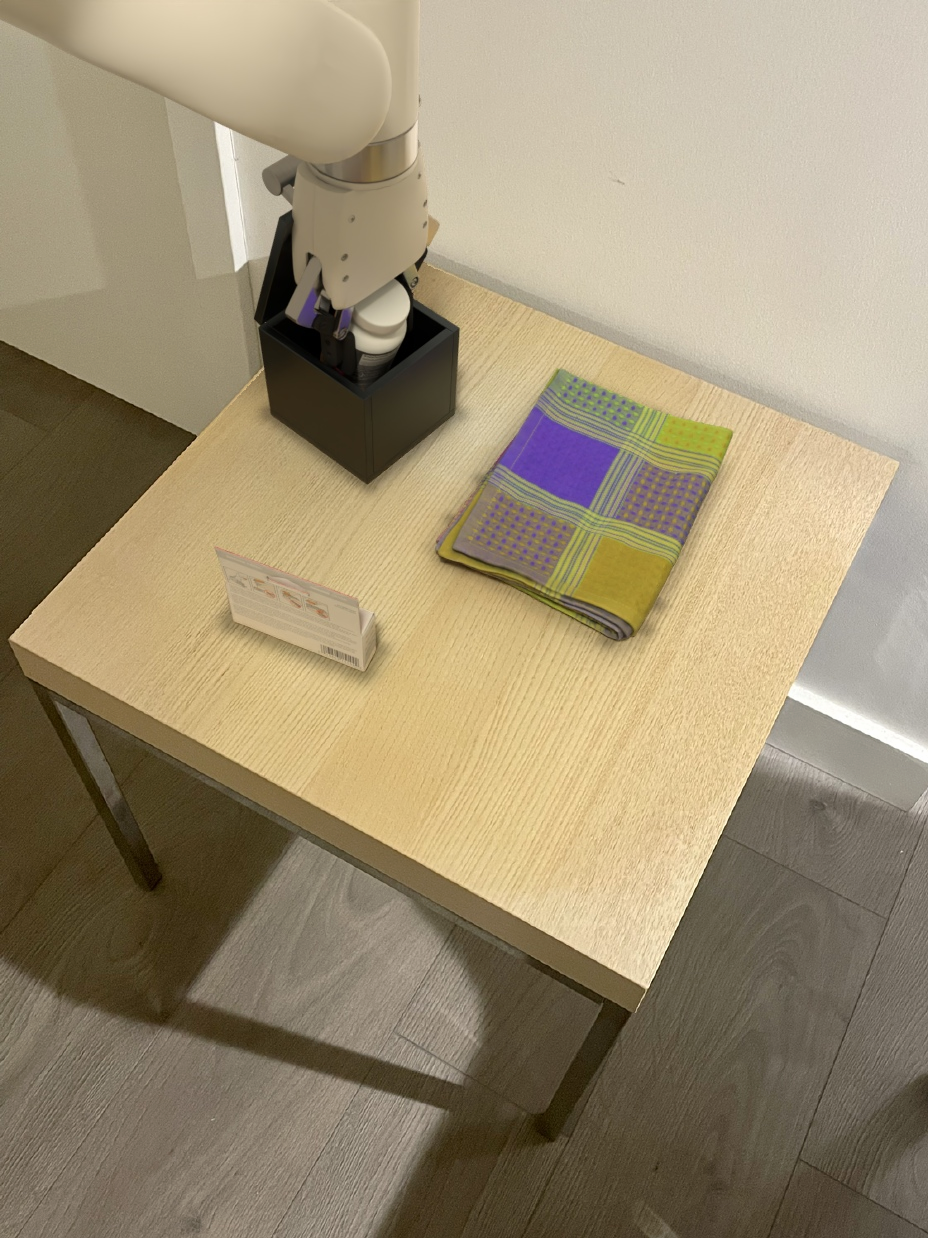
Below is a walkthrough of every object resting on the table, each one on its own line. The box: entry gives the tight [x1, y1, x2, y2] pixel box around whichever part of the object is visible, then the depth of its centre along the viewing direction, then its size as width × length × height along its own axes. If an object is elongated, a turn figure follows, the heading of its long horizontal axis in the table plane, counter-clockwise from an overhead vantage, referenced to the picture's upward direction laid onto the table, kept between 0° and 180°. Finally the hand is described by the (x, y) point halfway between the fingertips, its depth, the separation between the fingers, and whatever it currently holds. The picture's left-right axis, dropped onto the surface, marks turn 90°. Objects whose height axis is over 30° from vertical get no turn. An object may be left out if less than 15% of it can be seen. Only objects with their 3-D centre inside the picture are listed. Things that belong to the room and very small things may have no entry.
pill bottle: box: [320, 278, 410, 391], centre depth 85 cm, size 6×6×10 cm
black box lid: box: [253, 154, 303, 326], centre depth 81 cm, size 12×11×5 cm
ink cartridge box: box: [214, 546, 377, 673], centre depth 77 cm, size 2×11×10 cm, turn 67°
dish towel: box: [434, 367, 734, 641], centre depth 88 cm, size 18×24×3 cm
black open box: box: [257, 297, 461, 485], centre depth 89 cm, size 12×11×10 cm
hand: (367, 342), depth 86 cm, fingers closed on pill bottle, 5 cm apart
